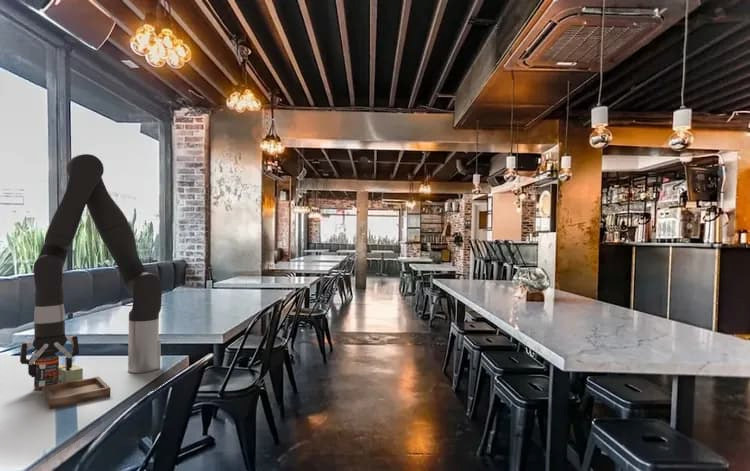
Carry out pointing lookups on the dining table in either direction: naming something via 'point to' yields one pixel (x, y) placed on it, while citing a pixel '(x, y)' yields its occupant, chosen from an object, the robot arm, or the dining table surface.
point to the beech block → (62, 368)
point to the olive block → (71, 374)
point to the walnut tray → (75, 392)
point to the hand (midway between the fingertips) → (50, 373)
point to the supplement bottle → (46, 369)
